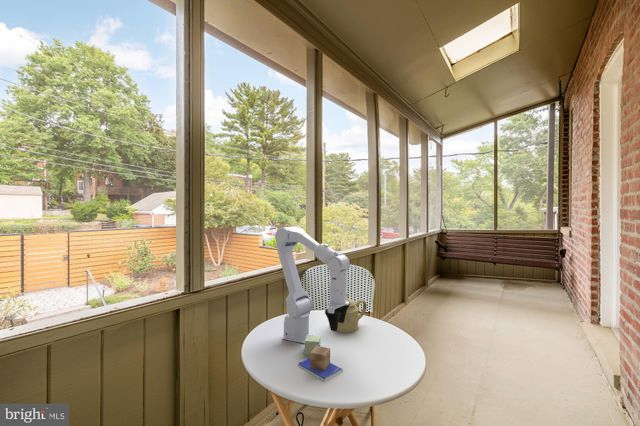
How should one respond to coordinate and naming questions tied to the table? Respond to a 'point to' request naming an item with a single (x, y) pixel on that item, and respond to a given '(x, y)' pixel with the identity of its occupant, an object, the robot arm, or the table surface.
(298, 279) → the robot arm
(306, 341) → the sage cube
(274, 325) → the table surface
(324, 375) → the hard drive
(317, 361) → the walnut cube
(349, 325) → the beige teapot
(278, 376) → the table surface
